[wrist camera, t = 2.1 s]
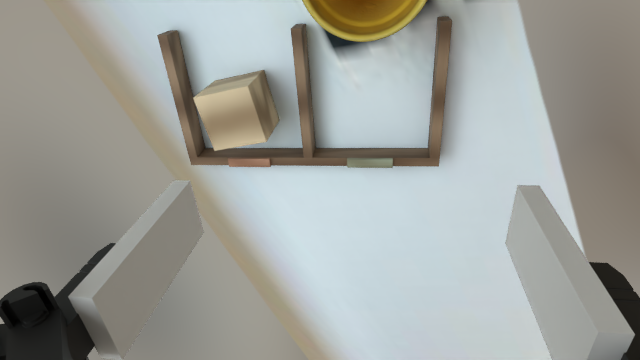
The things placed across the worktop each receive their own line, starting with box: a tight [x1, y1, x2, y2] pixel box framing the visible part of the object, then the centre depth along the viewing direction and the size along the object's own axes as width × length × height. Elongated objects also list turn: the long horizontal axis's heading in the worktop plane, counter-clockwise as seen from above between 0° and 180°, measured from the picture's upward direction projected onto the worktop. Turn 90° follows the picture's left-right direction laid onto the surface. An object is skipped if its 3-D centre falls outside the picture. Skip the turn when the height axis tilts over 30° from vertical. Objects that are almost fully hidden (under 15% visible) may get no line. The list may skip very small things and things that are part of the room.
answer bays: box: [157, 17, 452, 168], centre depth 43 cm, size 15×29×3 cm, turn 94°
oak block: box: [193, 70, 279, 151], centre depth 43 cm, size 6×6×6 cm
